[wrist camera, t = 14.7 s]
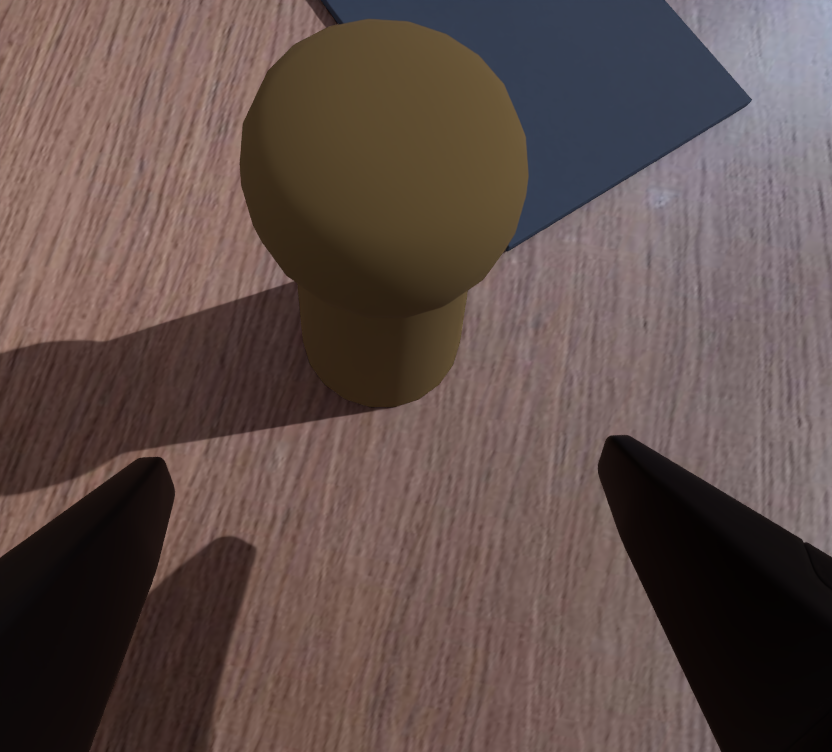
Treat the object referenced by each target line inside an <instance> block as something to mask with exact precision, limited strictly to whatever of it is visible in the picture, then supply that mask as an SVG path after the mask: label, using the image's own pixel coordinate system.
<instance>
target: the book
mask: <svg viewBox="0 0 832 752" xmlns="http://www.w3.org/2000/svg"><path fill="white" fill-rule="evenodd" d="M321 1H322V2H323V4H324V5H325V6H326V8H327V9H328V11H329V12H330V13H331V15H332V16H333V17H334V19H335V20H336V21H337V23H338V24H344V23H349V22H354V21H359V20H364V19H380V20H395V21H409V22H412V23H415V24H418V25H421V26H424V27H427V28H430V29H433V30H436V31H439V32H442V33H445V34H447V35H449V36H450V37H452V38H453V39H455V40H456V41H458V42H459V43H461V44H462V45H464V46H465V47H467V48H468V49H470V50H472V51H473V52H475V53H476V54H478V55H479V56H480V57H481V58H482V59H483V60H484V62H485V63H486V64H487V65H488V66H489V67H490V69H491V70H492V71H493V72H494V73H495V74H496V76H497V77H498V78H499V79H500V80H501V81H502V83H503V84H504V85H505V88H506V90H507V92H508V95H509V97H510V99H511V102H512V104H513V106H514V109H515V111H516V113H517V116H518V118H519V120H520V123H521V126H522V128H523V131H524V133H525V136H526V146H527V160H528V174H529V177H528V185H527V193H526V198H525V201H524V205H523V208H522V212H521V215H520V219H519V222H518V226H517V229H516V233H515V235H514V236H513V238H512V240H511V241H510V243H509V245H508V246H507V248H506V249H505V250H506V251H509V250H511V249H512V248H514V247H516V246H517V245H519V244H521V243H522V242H524V241H526V240H527V239H529V238H530V237H532V236H534V235H535V234H537V233H539V232H540V231H542V230H544V229H545V228H547V227H549V226H550V225H552V224H553V223H555V222H557V221H558V220H560V219H562V218H563V217H565V216H567V215H568V214H570V213H572V212H573V211H575V210H576V209H578V208H580V207H581V206H583V205H585V204H586V203H588V202H590V201H591V200H593V199H595V198H596V197H598V196H599V195H601V194H603V193H604V192H606V191H608V190H609V189H611V188H613V187H614V186H616V185H618V184H619V183H621V182H622V181H624V180H626V179H627V178H629V177H631V176H632V175H634V174H636V173H637V172H639V171H641V170H642V169H644V168H645V167H647V166H649V165H650V164H652V163H654V162H655V161H657V160H659V159H660V158H662V157H664V156H665V155H667V154H668V153H670V152H672V151H673V150H675V149H677V148H678V147H680V146H682V145H683V144H685V143H687V142H688V141H690V140H691V139H693V138H695V137H696V136H698V135H700V134H701V133H703V132H705V131H706V130H708V129H710V128H711V127H713V126H714V125H716V124H718V123H719V122H721V121H723V120H724V119H726V118H728V117H729V116H731V115H733V114H734V113H736V112H737V111H739V110H741V109H742V108H744V107H746V106H747V105H748V104H749V103H750V102H751V101H752V99H751V98H750V97H749V96H748V95H747V94H746V92H745V91H744V90H743V89H742V88H741V87H740V86H739V84H738V83H737V82H736V81H735V80H734V79H733V78H732V76H731V75H730V74H729V73H728V72H727V71H726V70H725V68H724V67H723V66H722V65H721V64H720V63H719V62H718V60H717V59H716V58H715V57H714V56H713V55H712V54H711V52H710V51H709V50H708V49H707V48H706V47H705V46H704V44H703V43H702V42H701V41H700V40H699V39H698V38H697V36H696V35H695V34H694V33H693V32H692V31H691V30H690V28H689V27H688V26H687V25H686V24H685V23H684V22H683V20H682V19H681V18H680V17H679V16H678V15H677V14H676V12H675V11H674V10H673V9H672V8H671V7H670V6H669V4H668V3H667V2H666V1H665V0H321Z"/></svg>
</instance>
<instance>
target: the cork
mask: <svg viewBox="0 0 832 752" xmlns="http://www.w3.org/2000/svg"><path fill="white" fill-rule="evenodd" d="M240 176H241V186H242V190H243V193H244V196H245V200H246V203H247V207H248V210H249V213H250V217H251V220H252V223H253V226H254V228H255V230H256V232H257V234H258V236H259V237H260V239H261V241H262V243H263V244H264V245H265V247H266V248H267V250H268V251H269V252H270V254H271V255H272V256H273V258H274V259H275V260H276V262H277V263H278V265H279V266H280V267H281V269H282V270H283V271H284V273H285V274H286V275H287V276H288V277H289V278H291V279H292V280H294V281H295V282H296V283H297V285H298V296H299V306H300V317H301V327H302V338H303V343H304V346H305V350H306V353H307V356H308V360H309V363H310V365H311V366H312V368H313V369H314V371H315V372H316V373H317V375H318V376H319V378H320V379H321V380H322V382H323V383H324V384H325V385H326V386H327V387H329V388H330V389H332V390H333V391H334V392H336V393H337V394H339V395H340V396H341V397H343V398H344V399H346V400H349V401H352V402H355V403H359V404H362V405H365V406H368V407H396V406H399V405H403V404H406V403H409V402H412V401H415V400H418V399H420V398H421V397H423V396H424V395H425V394H427V393H428V392H430V391H431V390H432V389H434V388H435V387H436V386H438V385H439V384H440V383H441V381H442V380H443V378H444V377H445V375H446V374H447V373H448V371H449V370H450V368H451V367H452V366H453V363H454V360H455V357H456V353H457V350H458V347H459V343H460V338H461V331H462V325H463V318H464V312H465V305H466V299H467V292H468V290H469V289H471V288H472V287H473V286H475V285H476V284H478V283H479V282H481V281H482V280H483V279H484V278H485V277H486V275H487V274H488V273H489V271H490V270H491V268H492V267H493V266H494V264H495V263H496V262H497V260H498V259H499V258H500V256H501V255H502V253H503V252H504V251H505V249H506V248H507V246H508V245H509V243H510V241H511V240H512V238H513V236H514V235H515V233H516V229H517V226H518V222H519V219H520V215H521V212H522V208H523V205H524V201H525V198H526V193H527V185H528V177H529V174H528V160H527V146H526V136H525V133H524V131H523V128H522V126H521V123H520V120H519V118H518V116H517V113H516V111H515V109H514V106H513V104H512V102H511V99H510V97H509V95H508V92H507V90H506V88H505V85H504V84H503V83H502V81H501V80H500V79H499V78H498V77H497V76H496V74H495V73H494V72H493V71H492V70H491V69H490V67H489V66H488V65H487V64H486V63H485V62H484V60H483V59H482V58H481V57H480V56H479V55H478V54H476V53H475V52H473V51H472V50H470V49H468V48H467V47H465V46H464V45H462V44H461V43H459V42H458V41H456V40H455V39H453V38H452V37H450V36H449V35H447V34H445V33H442V32H439V31H436V30H433V29H430V28H427V27H424V26H421V25H418V24H415V23H412V22H409V21H395V20H380V19H364V20H359V21H354V22H349V23H344V24H339V25H334V26H329V27H327V28H325V29H323V30H321V31H319V32H317V33H315V34H313V35H312V36H310V37H308V38H306V39H304V40H302V41H300V42H298V43H296V44H294V45H293V46H292V47H291V48H290V49H289V50H288V51H287V52H286V53H285V54H284V55H283V56H282V57H281V58H280V59H279V60H278V61H277V62H276V63H275V64H274V65H273V66H272V67H271V68H270V69H269V70H268V72H267V74H266V76H265V78H264V80H263V82H262V84H261V86H260V88H259V90H258V92H257V94H256V96H255V99H254V101H253V103H252V105H251V107H250V109H249V111H248V114H247V116H246V118H245V120H244V122H243V127H242V141H241V154H240Z"/></svg>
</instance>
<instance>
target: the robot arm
mask: <svg viewBox="0 0 832 752" xmlns="http://www.w3.org/2000/svg"><path fill="white" fill-rule="evenodd" d="M598 474H599V478H600V481H601V483H602V486H603V489H604V492H605V495H606V498H607V501H608V504H609V506H610V509H611V512H612V515H613V518H614V521H615V524H616V527H617V529H618V532H619V535H620V537H621V540H622V542H623V544H624V547H625V549H626V551H627V553H628V555H629V558H630V560H631V562H632V564H633V566H634V568H635V570H636V572H637V574H638V577H639V579H640V581H641V583H642V585H643V587H644V589H645V591H646V593H647V596H648V598H649V600H650V602H651V604H652V606H653V608H654V610H655V613H656V615H657V617H658V619H659V621H660V623H661V625H662V627H663V629H664V632H665V634H666V636H667V638H668V640H669V642H670V644H671V646H672V648H673V651H674V653H675V655H676V657H677V659H678V661H679V663H680V665H681V668H682V670H683V672H684V674H685V676H686V678H687V680H688V682H689V684H690V687H691V689H692V691H693V693H694V695H695V697H696V699H697V701H698V703H699V706H700V708H701V710H702V712H703V714H704V716H705V718H706V720H707V722H708V725H709V727H710V729H711V731H712V733H713V735H714V737H715V739H716V742H717V744H718V746H719V748H720V750H721V752H832V557H831V556H829V555H827V554H826V553H824V552H822V551H821V550H819V549H817V548H816V547H814V546H812V545H811V544H809V543H807V542H805V543H804V542H803V540H802V539H801V538H799V537H797V536H796V535H794V534H792V533H791V532H789V531H787V530H786V529H784V528H782V527H781V526H779V525H777V524H776V523H774V522H772V521H771V520H769V519H767V518H766V517H764V516H762V515H761V514H759V513H757V512H756V511H754V510H752V509H751V508H749V507H747V506H746V505H744V504H742V503H741V502H739V501H737V500H736V499H734V498H732V497H731V496H729V495H727V494H726V493H724V492H722V491H721V490H719V489H717V488H716V487H714V486H712V485H711V484H709V483H707V482H706V481H704V480H702V479H701V478H699V477H697V476H696V475H694V474H692V473H691V472H689V471H687V470H686V469H684V468H682V467H681V466H679V465H677V464H676V463H674V462H672V461H671V460H669V459H667V458H666V457H664V456H662V455H661V454H659V453H657V452H656V451H654V450H652V449H651V448H649V447H647V446H646V445H644V444H642V443H641V442H639V441H637V440H636V439H634V438H632V437H631V436H628V435H613V436H609V437H608V438H607V439H606V441H605V444H604V447H603V450H602V453H601V457H600V460H599V463H598ZM174 497H175V489H174V485H173V482H172V479H171V476H170V474H169V471H168V468H167V466H166V463H165V461H164V460H163V458H161V457H143V458H138V459H137V460H135V461H133V462H132V463H131V464H129V465H128V466H127V467H125V468H124V469H122V470H121V471H120V472H118V473H117V474H115V475H114V476H113V477H111V478H110V479H109V480H107V481H106V482H104V483H103V484H102V485H100V486H99V487H97V488H96V489H95V490H93V491H92V492H91V493H89V494H88V495H86V496H85V497H84V498H82V499H81V500H79V501H78V502H77V503H75V504H74V505H73V506H71V507H70V508H68V509H67V510H66V511H64V512H63V513H61V514H60V515H59V516H57V517H56V518H55V519H53V520H52V521H50V522H49V523H48V524H46V525H45V526H43V527H42V528H41V529H39V530H38V531H37V532H35V533H34V534H32V535H31V536H30V537H28V538H27V539H25V540H24V541H23V542H21V543H20V544H19V545H17V546H16V547H14V548H13V549H12V550H10V551H9V552H7V553H6V554H5V555H3V556H2V557H1V558H0V752H89V751H90V748H91V745H92V743H93V740H94V737H95V735H96V732H97V729H98V727H99V724H100V721H101V719H102V716H103V713H104V710H105V708H106V705H107V702H108V700H109V697H110V694H111V692H112V689H113V686H114V684H115V681H116V678H117V676H118V673H119V670H120V668H121V665H122V662H123V659H124V657H125V654H126V651H127V649H128V646H129V643H130V641H131V638H132V635H133V633H134V630H135V627H136V625H137V622H138V619H139V617H140V614H141V611H142V608H143V606H144V603H145V600H146V598H147V595H148V592H149V590H150V587H151V584H152V581H153V578H154V576H155V573H156V569H157V566H158V562H159V558H160V554H161V550H162V546H163V542H164V538H165V534H166V530H167V526H168V522H169V518H170V514H171V510H172V506H173V502H174Z"/></svg>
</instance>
